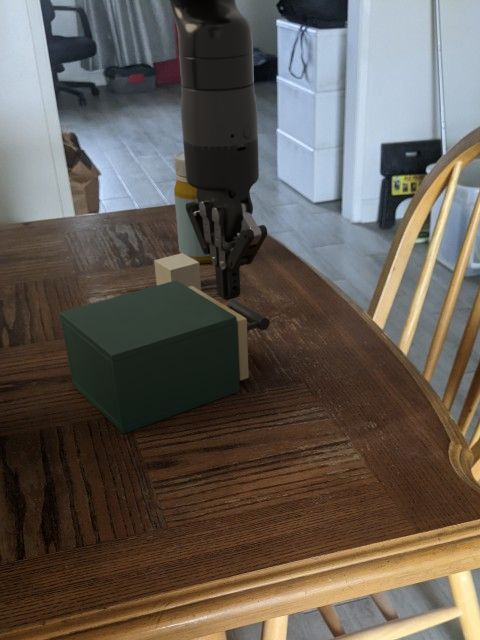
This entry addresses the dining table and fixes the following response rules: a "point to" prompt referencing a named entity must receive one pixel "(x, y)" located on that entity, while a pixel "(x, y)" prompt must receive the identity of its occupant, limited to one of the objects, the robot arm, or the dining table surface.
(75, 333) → the cabinet
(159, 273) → the block
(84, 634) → the dining table surface
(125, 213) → the dining table surface
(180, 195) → the bottle
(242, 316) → the drawer
